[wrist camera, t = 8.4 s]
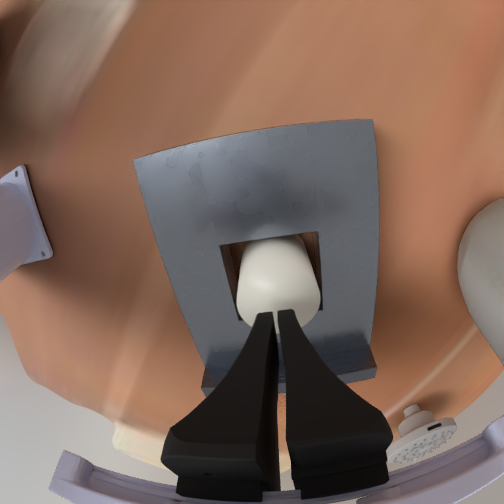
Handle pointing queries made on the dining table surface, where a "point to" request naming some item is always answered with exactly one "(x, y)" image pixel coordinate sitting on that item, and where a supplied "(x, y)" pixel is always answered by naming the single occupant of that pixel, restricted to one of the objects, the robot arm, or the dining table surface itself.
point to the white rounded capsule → (277, 279)
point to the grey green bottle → (485, 273)
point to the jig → (271, 232)
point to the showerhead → (419, 435)
